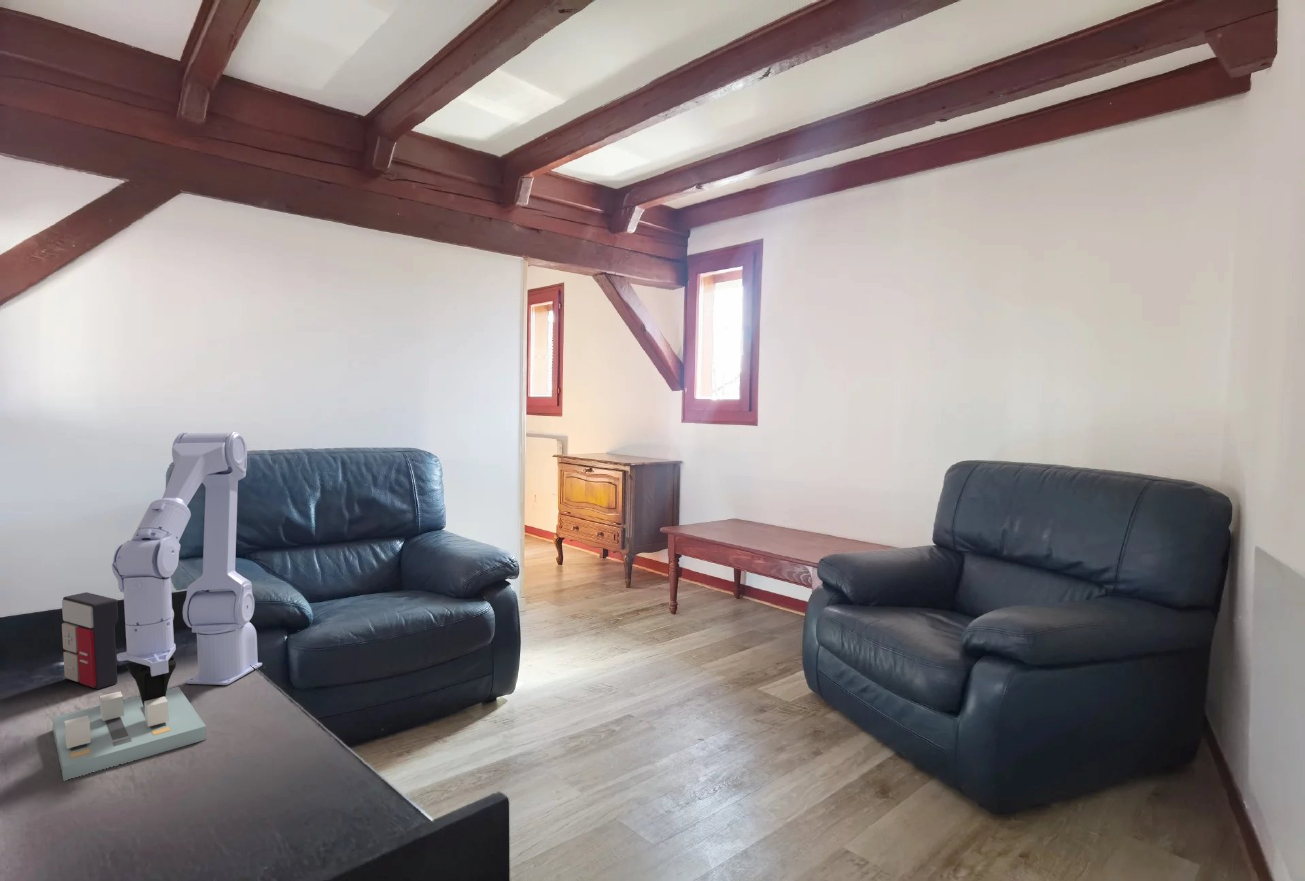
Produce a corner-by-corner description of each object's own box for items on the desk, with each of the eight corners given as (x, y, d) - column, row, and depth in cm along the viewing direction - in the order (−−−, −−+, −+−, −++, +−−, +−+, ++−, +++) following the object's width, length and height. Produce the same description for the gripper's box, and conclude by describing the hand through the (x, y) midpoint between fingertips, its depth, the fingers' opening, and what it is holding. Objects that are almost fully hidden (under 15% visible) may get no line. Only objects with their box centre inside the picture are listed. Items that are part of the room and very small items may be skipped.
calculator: (61, 680, 124) (57, 597, 124) (90, 671, 128) (85, 591, 127) (93, 691, 119) (88, 605, 118) (121, 682, 123) (117, 599, 122)
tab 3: (145, 721, 102) (144, 701, 102) (165, 715, 104) (164, 696, 104) (148, 726, 101) (147, 706, 101) (168, 721, 102) (167, 701, 102)
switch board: (52, 730, 105) (52, 716, 105) (179, 698, 116) (178, 686, 116) (63, 781, 91) (62, 766, 91) (206, 739, 102) (205, 725, 102)
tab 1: (65, 742, 96) (64, 721, 96) (88, 736, 98) (87, 715, 98) (67, 748, 94) (65, 727, 94) (90, 742, 96) (89, 721, 96)
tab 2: (100, 715, 104) (99, 696, 104) (121, 710, 106) (120, 691, 106) (102, 721, 103) (101, 701, 102) (123, 715, 104) (122, 696, 104)
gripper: (109, 615, 106) (113, 702, 107) (122, 637, 96) (127, 734, 96) (164, 605, 111) (169, 688, 112) (183, 626, 100) (188, 717, 101)
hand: (153, 708), depth 104 cm, fingers closed
